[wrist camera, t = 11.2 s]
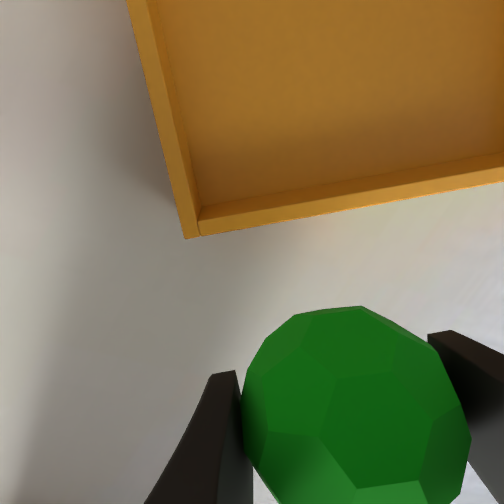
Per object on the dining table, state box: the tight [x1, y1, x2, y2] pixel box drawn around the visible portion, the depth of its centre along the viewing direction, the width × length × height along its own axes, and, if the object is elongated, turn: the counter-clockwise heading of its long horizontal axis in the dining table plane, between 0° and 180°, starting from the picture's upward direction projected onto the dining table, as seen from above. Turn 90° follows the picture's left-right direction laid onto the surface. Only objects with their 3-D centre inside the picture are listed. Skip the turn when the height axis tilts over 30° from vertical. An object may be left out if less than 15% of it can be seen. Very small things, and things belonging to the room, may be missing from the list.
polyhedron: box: [240, 306, 472, 504], centre depth 9 cm, size 5×5×5 cm
